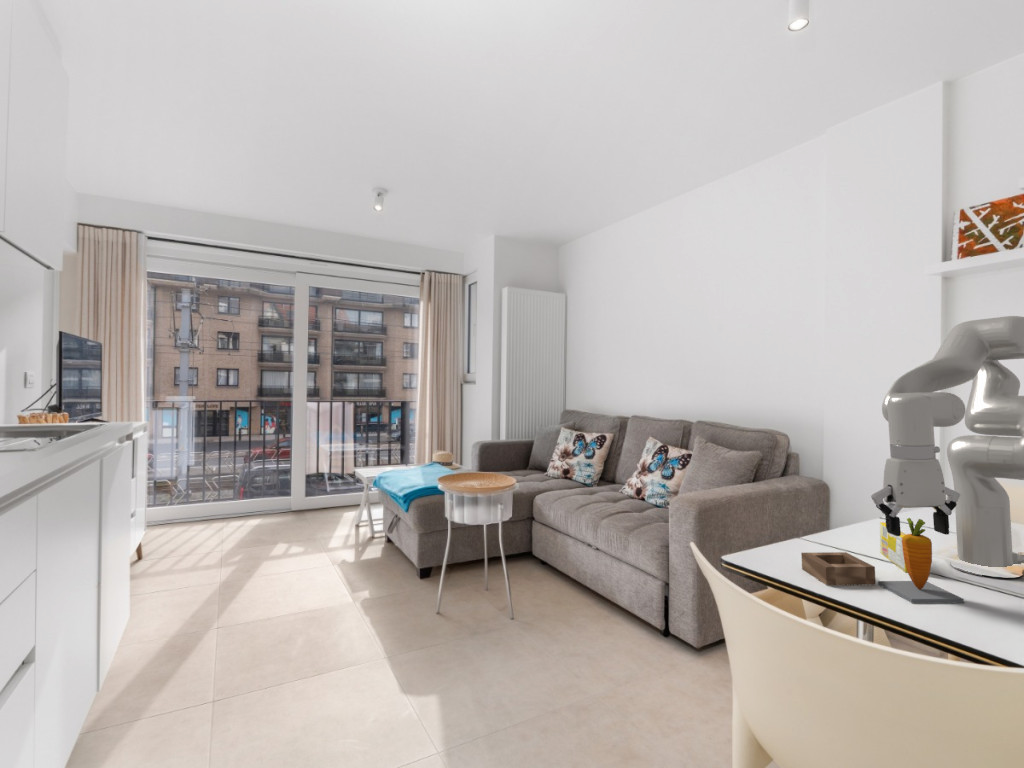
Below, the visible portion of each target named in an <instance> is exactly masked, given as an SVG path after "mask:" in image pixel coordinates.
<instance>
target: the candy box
mask: <svg viewBox="0 0 1024 768" xmlns="http://www.w3.org/2000/svg"><path fill="white" fill-rule="evenodd" d="M905 535H907V533H905V532H903V531H901V535H900V536H895V535H893V534H890V533H888V532H887V529H886V522H881V521H879V543H880V544H879V550H880V551H879V553H880V554H881V555H883V556H884V557H885V558H886V559H888V560H889V561H890V562H892V563H893V564H894V565H895V566H896V567H898V568H899V569H900V570H901V571H903V572H904V573H905V574H908V571H907V568H906V565H905V561H904V555H903V547H902V538H903V537H904V536H905Z"/></svg>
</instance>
